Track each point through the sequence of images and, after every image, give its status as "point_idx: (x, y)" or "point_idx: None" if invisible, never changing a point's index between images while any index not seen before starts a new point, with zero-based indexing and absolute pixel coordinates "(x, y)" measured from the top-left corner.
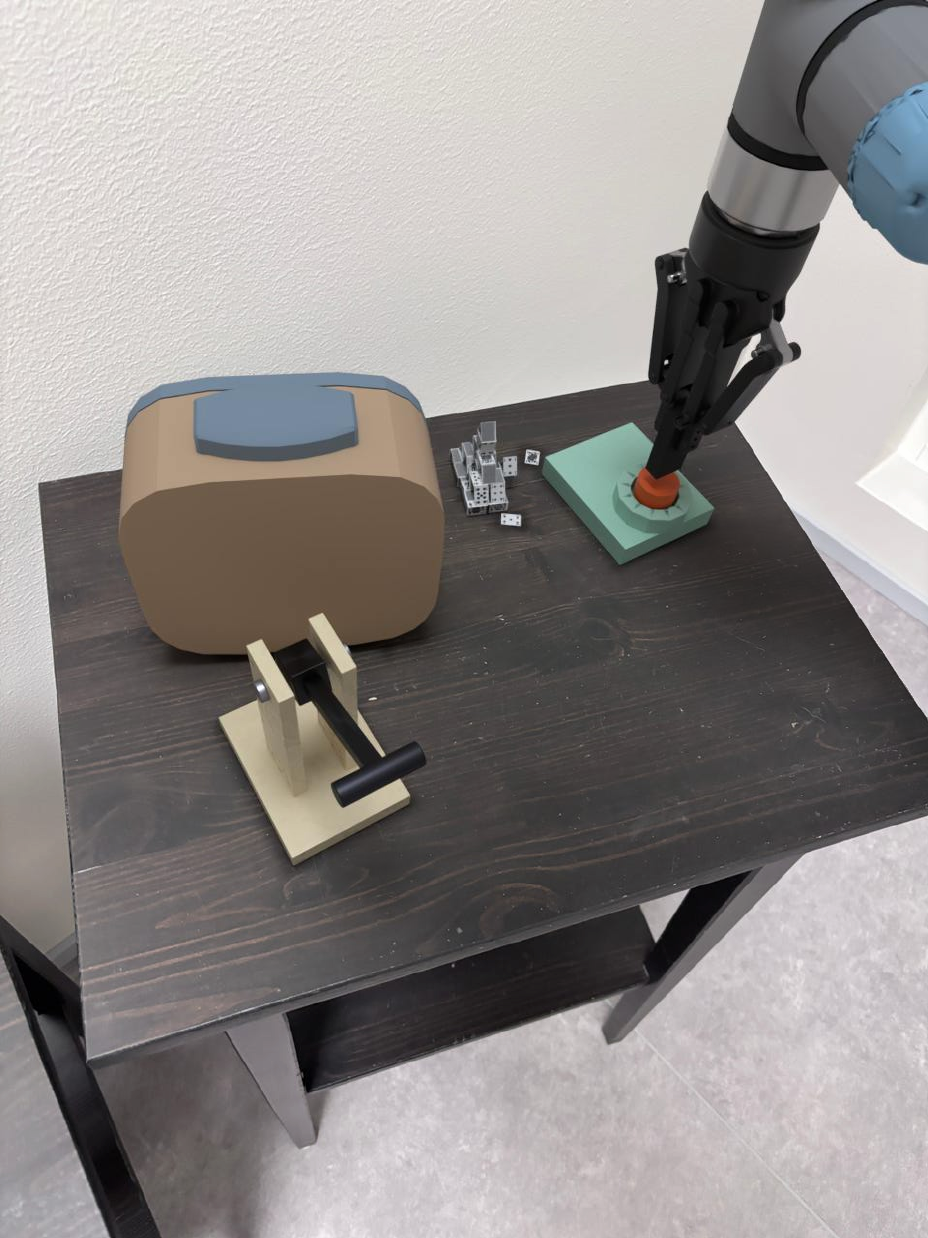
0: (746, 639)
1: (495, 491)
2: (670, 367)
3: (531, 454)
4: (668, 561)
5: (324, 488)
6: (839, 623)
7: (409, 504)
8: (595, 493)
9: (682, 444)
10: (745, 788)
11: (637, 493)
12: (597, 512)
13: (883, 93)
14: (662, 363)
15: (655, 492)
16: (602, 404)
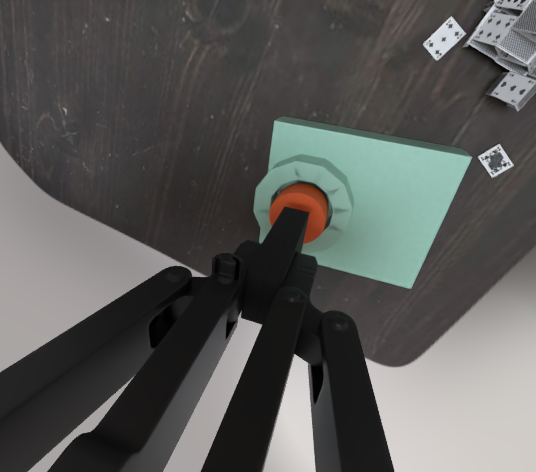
0: (147, 152)
1: (500, 24)
2: (289, 356)
3: (500, 163)
4: (254, 167)
5: None
6: (130, 228)
7: None
8: (365, 161)
9: (246, 251)
10: (21, 8)
11: (309, 188)
12: (341, 138)
13: None
14: (323, 358)
15: (284, 199)
16: (469, 296)
